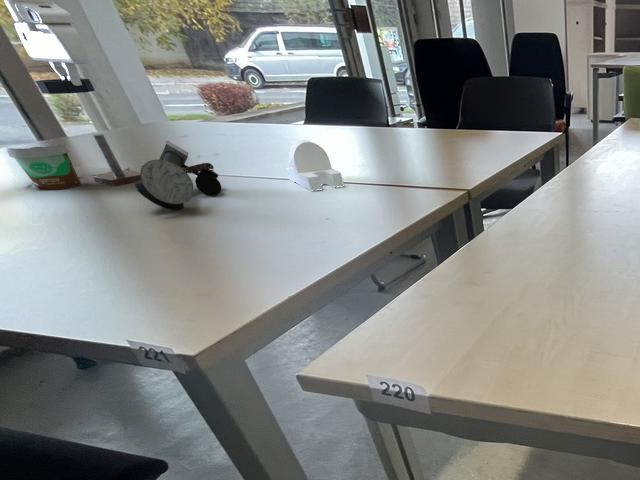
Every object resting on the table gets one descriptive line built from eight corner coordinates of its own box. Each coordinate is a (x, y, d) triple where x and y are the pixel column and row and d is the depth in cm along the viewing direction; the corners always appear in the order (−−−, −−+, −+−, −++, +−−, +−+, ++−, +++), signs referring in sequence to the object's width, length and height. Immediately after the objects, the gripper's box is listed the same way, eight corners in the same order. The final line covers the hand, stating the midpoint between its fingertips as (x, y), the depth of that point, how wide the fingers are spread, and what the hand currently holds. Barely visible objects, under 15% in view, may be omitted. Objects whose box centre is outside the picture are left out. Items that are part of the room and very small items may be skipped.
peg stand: (114, 185, 143) (88, 138, 135) (95, 182, 145) (69, 135, 138) (148, 179, 149) (125, 134, 141) (129, 175, 152) (106, 131, 144)
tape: (56, 94, 125) (49, 82, 124) (35, 92, 129) (28, 80, 127) (101, 91, 132) (95, 79, 130) (80, 89, 135) (74, 78, 134)
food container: (29, 193, 135) (2, 150, 128) (30, 188, 138) (3, 146, 132) (88, 187, 141) (64, 146, 135) (87, 182, 145) (64, 142, 138)
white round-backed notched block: (312, 191, 142) (298, 148, 135) (289, 179, 152) (274, 138, 145) (345, 186, 148) (334, 144, 141) (321, 175, 157) (309, 135, 150)
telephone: (207, 237, 128) (209, 204, 147) (228, 193, 125) (227, 165, 144) (128, 199, 117) (141, 169, 136) (149, 149, 114) (159, 126, 133)
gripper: (-5, 11, 120) (36, 83, 129) (42, 13, 114) (81, 88, 122) (27, 12, 124) (65, 81, 133) (74, 13, 118) (110, 86, 127)
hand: (73, 84), depth 128 cm, fingers closed on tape, 2 cm apart
